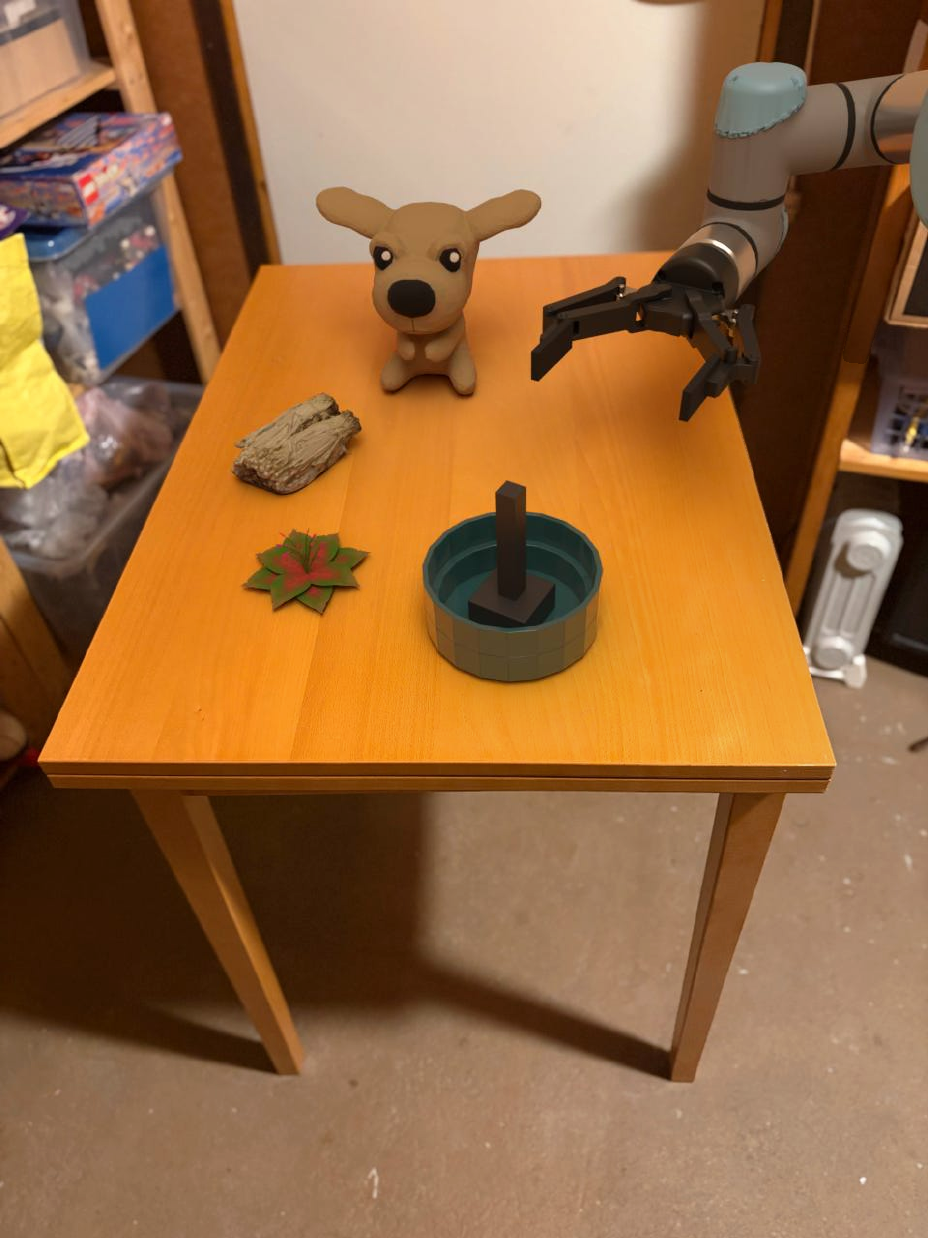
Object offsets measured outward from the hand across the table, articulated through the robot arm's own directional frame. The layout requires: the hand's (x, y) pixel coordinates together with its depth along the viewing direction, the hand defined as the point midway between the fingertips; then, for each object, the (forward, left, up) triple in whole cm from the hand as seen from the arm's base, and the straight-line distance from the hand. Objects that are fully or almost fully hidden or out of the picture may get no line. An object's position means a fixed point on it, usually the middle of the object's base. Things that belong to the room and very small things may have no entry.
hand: (606, 386), depth 77 cm
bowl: (+2, +13, -17) cm, 22 cm away
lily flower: (+22, +17, -17) cm, 33 cm away
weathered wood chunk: (+34, +3, -17) cm, 38 cm away
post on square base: (+2, +13, -17) cm, 21 cm away
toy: (+31, -19, -17) cm, 40 cm away
